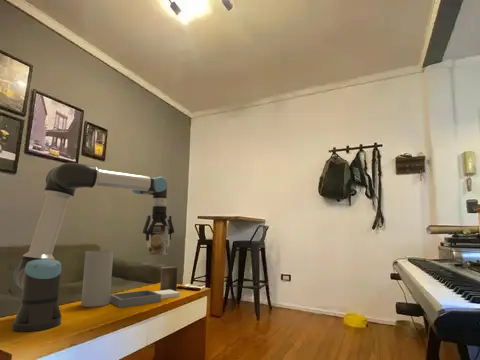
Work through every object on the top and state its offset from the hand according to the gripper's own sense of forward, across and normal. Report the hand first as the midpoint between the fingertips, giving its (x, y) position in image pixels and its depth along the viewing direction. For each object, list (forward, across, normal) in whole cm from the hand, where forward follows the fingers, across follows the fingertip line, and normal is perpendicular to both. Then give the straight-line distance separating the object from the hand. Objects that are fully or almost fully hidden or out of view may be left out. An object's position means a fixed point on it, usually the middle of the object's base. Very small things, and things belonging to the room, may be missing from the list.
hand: (158, 246), depth 168 cm
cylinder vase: (+26, -30, +3) cm, 40 cm away
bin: (+27, -13, -3) cm, 30 cm away
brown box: (+27, +14, +15) cm, 34 cm away
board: (+27, +5, +1) cm, 27 cm away
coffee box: (+5, 0, 0) cm, 5 cm away
